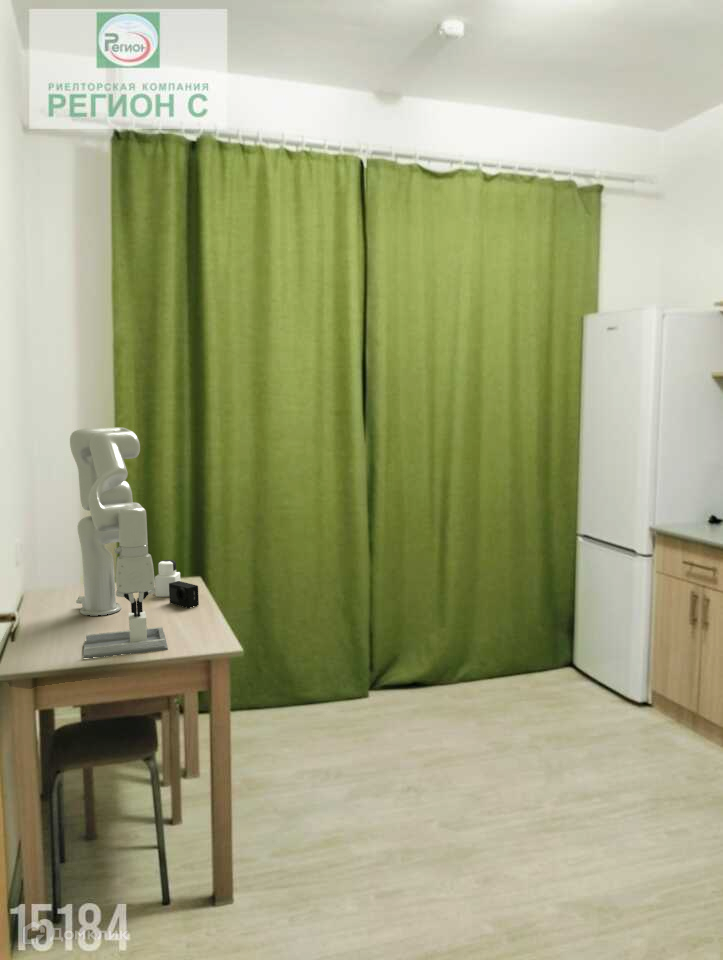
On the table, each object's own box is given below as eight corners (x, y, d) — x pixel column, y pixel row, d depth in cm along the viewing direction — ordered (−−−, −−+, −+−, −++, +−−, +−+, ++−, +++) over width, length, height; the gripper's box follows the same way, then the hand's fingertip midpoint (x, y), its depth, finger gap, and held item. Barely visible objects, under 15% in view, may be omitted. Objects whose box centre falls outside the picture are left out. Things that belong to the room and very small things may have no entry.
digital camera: (166, 604, 254) (165, 583, 253) (179, 600, 258) (178, 580, 258) (185, 609, 248) (184, 588, 247) (198, 605, 252) (198, 585, 251)
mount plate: (83, 659, 202) (83, 657, 202) (84, 643, 216) (84, 640, 216) (167, 649, 209) (167, 647, 209) (164, 634, 222) (164, 632, 222)
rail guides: (85, 656, 203) (84, 648, 203) (86, 641, 215) (86, 634, 215) (165, 646, 210) (165, 639, 210) (162, 633, 221) (162, 626, 221)
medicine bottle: (161, 591, 270) (159, 558, 269) (181, 591, 270) (179, 558, 268) (155, 596, 263) (153, 563, 262) (175, 596, 263) (174, 563, 261)
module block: (130, 647, 210) (129, 619, 209) (129, 639, 216) (128, 612, 215) (147, 645, 211) (146, 617, 210) (146, 637, 218) (145, 611, 217)
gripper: (105, 556, 204) (109, 621, 207) (162, 551, 209) (165, 616, 211) (105, 550, 211) (109, 614, 214) (160, 546, 216) (163, 608, 218)
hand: (137, 614), depth 212 cm, fingers closed
